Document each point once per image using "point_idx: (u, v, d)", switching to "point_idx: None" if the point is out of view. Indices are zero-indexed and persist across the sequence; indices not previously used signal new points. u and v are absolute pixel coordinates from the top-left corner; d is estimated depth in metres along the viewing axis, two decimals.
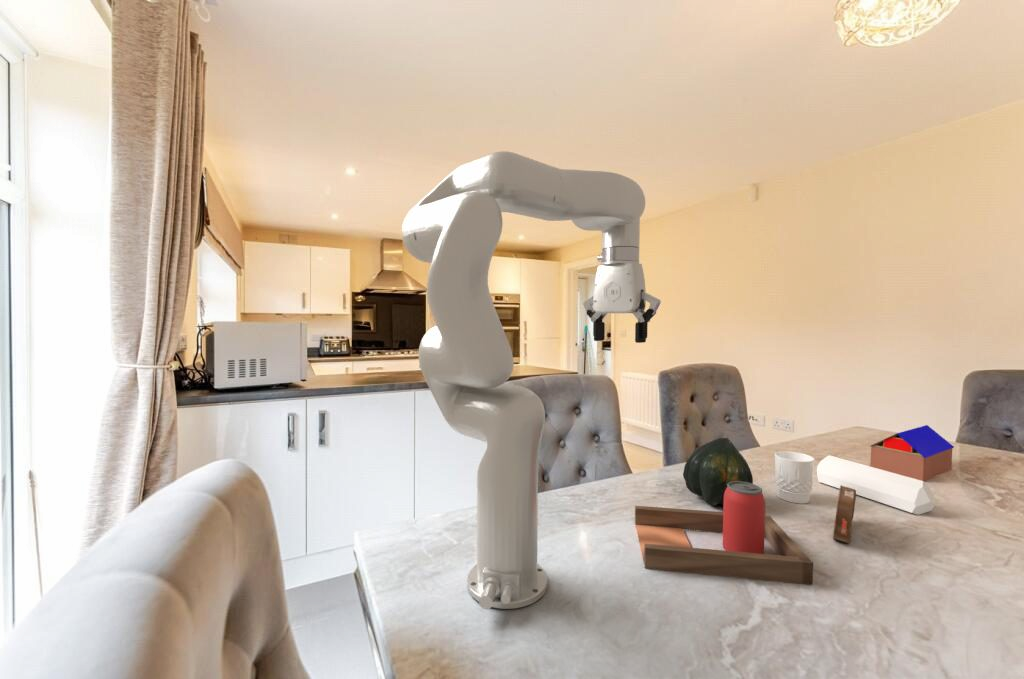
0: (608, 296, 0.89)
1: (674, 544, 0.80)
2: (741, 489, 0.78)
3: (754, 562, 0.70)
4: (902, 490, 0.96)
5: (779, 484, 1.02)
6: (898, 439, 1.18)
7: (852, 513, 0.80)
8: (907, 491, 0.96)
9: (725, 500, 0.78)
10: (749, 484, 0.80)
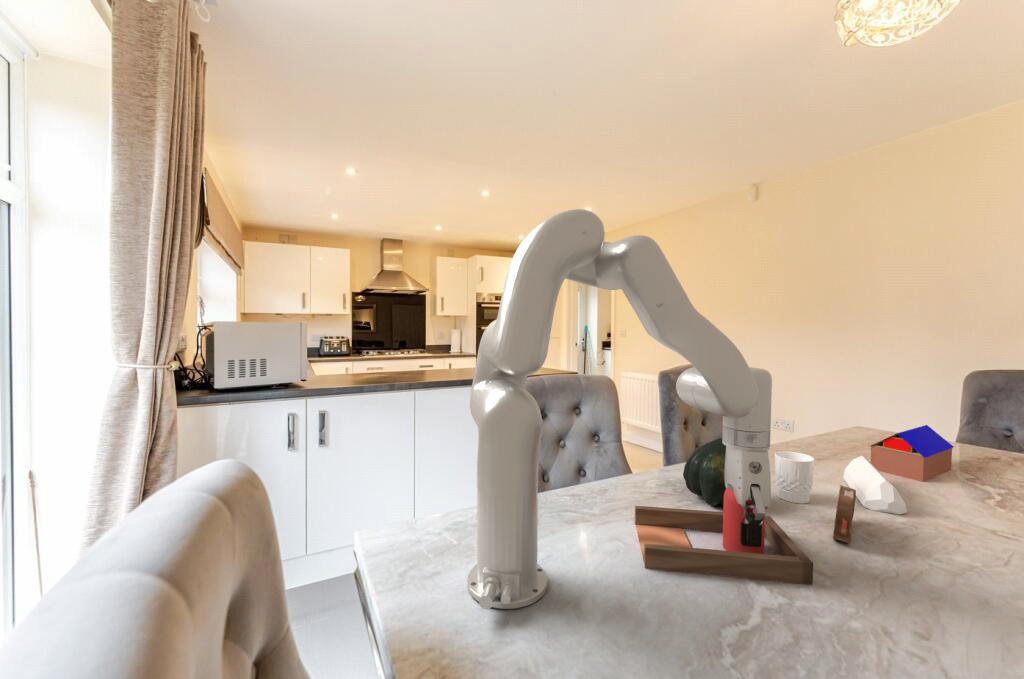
0: None
1: (674, 544, 0.80)
2: None
3: (754, 562, 0.70)
4: (868, 486, 0.99)
5: (779, 484, 1.02)
6: (898, 439, 1.18)
7: (852, 513, 0.80)
8: (869, 487, 0.98)
9: (725, 500, 0.78)
10: None
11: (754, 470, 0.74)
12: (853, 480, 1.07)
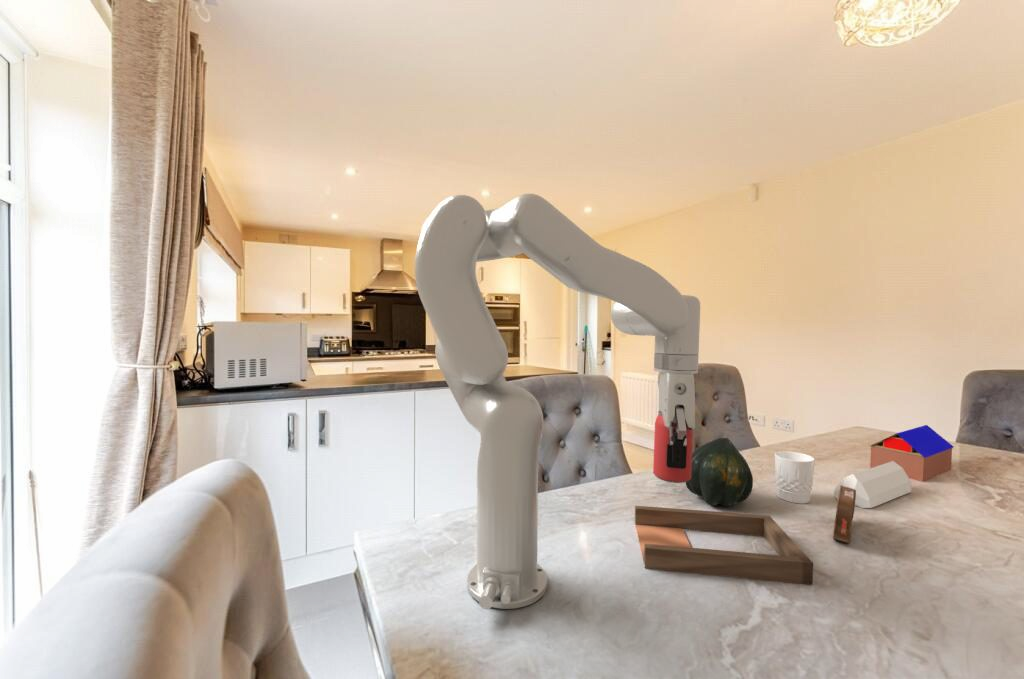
0: None
1: (674, 544, 0.80)
2: None
3: (754, 562, 0.70)
4: None
5: (779, 484, 1.02)
6: (898, 439, 1.18)
7: (852, 513, 0.80)
8: None
9: (655, 426, 0.80)
10: None
11: (680, 392, 0.76)
12: None
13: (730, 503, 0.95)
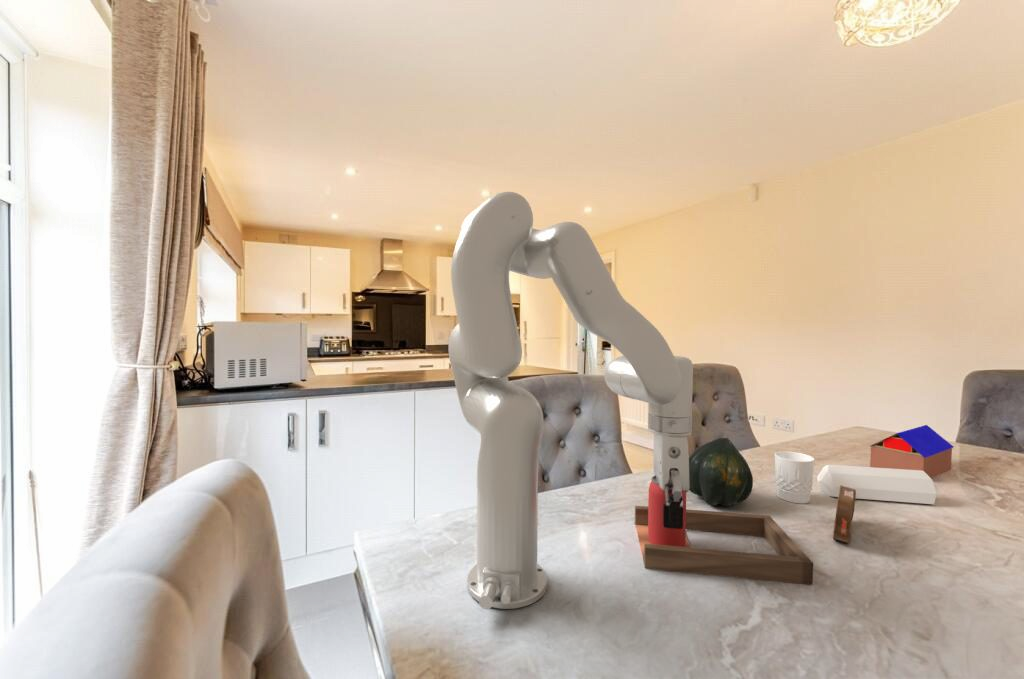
0: None
1: None
2: None
3: (754, 562, 0.70)
4: None
5: (779, 484, 1.02)
6: (898, 439, 1.18)
7: (852, 513, 0.80)
8: None
9: (649, 493, 0.80)
10: None
11: (674, 455, 0.76)
12: None
13: (730, 503, 0.95)
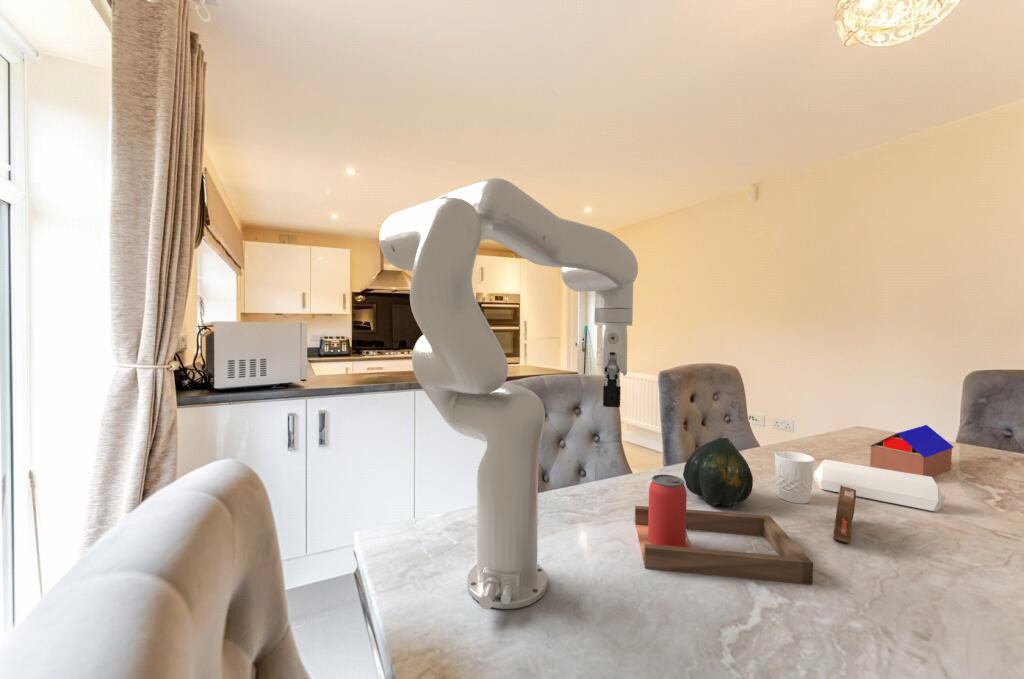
0: None
1: None
2: (664, 481, 0.80)
3: (754, 562, 0.70)
4: None
5: (779, 484, 1.02)
6: (898, 439, 1.18)
7: (852, 513, 0.80)
8: None
9: (649, 492, 0.81)
10: (674, 477, 0.82)
11: (614, 342, 0.85)
12: None
13: (730, 503, 0.95)
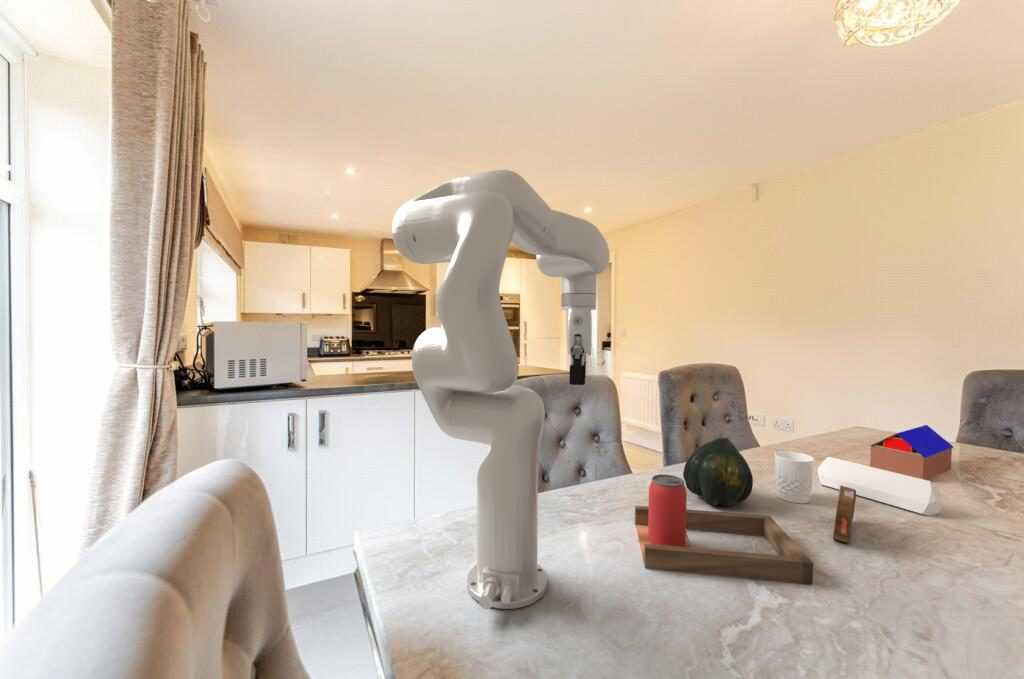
0: (591, 339, 0.93)
1: None
2: (664, 481, 0.80)
3: (754, 562, 0.70)
4: None
5: (779, 484, 1.02)
6: (898, 439, 1.18)
7: (852, 513, 0.80)
8: None
9: (649, 493, 0.80)
10: (674, 477, 0.82)
11: (579, 325, 0.91)
12: None
13: (730, 503, 0.95)
